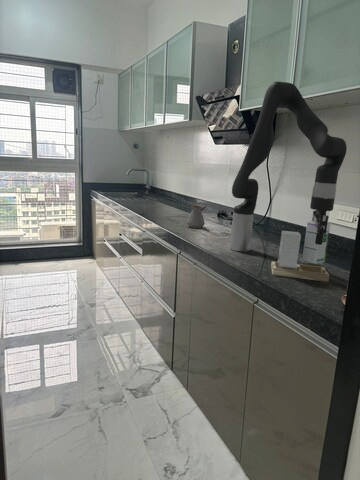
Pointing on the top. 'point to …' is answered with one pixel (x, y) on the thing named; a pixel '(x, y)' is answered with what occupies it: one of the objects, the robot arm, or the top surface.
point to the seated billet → (289, 250)
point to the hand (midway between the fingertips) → (316, 241)
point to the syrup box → (312, 250)
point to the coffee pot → (196, 217)
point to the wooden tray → (302, 272)
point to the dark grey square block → (309, 263)
